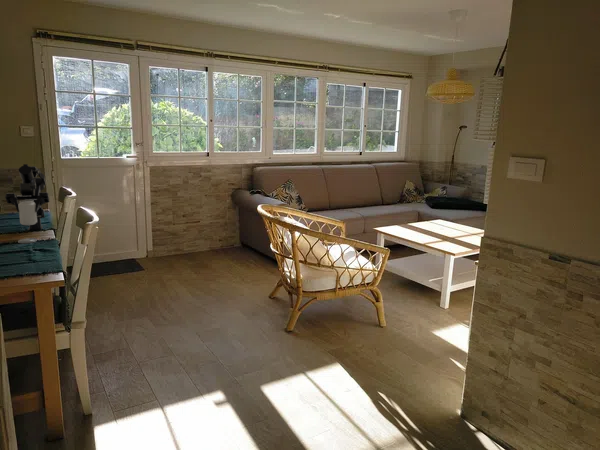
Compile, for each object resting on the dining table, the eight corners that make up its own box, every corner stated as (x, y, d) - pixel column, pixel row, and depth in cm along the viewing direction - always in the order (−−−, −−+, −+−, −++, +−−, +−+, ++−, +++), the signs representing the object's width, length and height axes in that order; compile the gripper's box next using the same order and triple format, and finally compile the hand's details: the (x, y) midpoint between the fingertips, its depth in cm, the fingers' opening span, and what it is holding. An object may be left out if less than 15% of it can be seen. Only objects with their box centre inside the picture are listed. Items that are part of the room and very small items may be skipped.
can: (29, 226, 226) (27, 202, 223) (16, 224, 227) (14, 201, 225) (40, 223, 233) (38, 199, 230) (28, 221, 234) (25, 198, 232)
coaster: (19, 240, 226) (19, 238, 226) (37, 238, 229) (37, 237, 229) (16, 244, 219) (16, 242, 219) (35, 243, 222) (35, 241, 222)
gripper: (3, 177, 225) (1, 203, 217) (46, 176, 232) (45, 201, 224) (8, 190, 234) (6, 215, 226) (49, 189, 241) (49, 214, 233)
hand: (27, 211), depth 227 cm, fingers closed on can, 7 cm apart
